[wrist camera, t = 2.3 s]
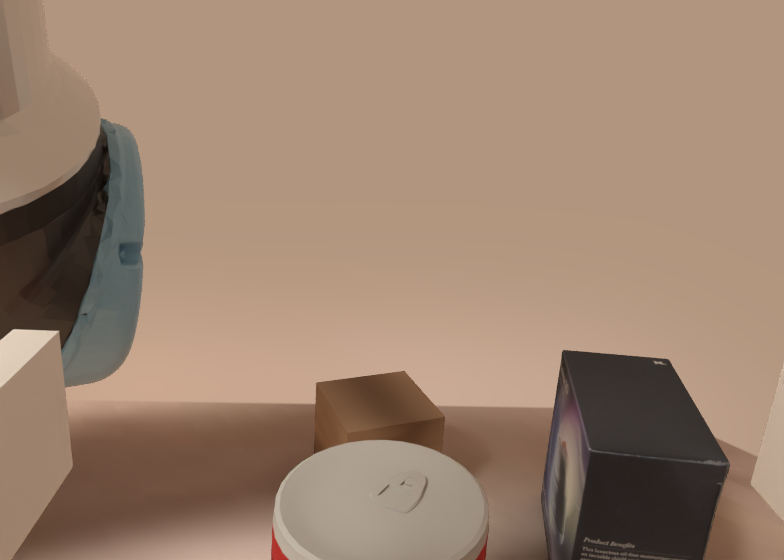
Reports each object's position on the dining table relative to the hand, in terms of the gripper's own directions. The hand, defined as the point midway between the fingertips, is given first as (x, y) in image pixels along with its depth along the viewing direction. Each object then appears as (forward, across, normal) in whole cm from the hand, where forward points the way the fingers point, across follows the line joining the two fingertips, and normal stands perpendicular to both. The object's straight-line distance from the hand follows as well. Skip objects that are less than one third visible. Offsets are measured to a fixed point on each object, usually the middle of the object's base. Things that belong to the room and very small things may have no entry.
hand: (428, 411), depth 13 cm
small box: (+19, +13, -20) cm, 31 cm away
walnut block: (+26, +1, -20) cm, 33 cm away
